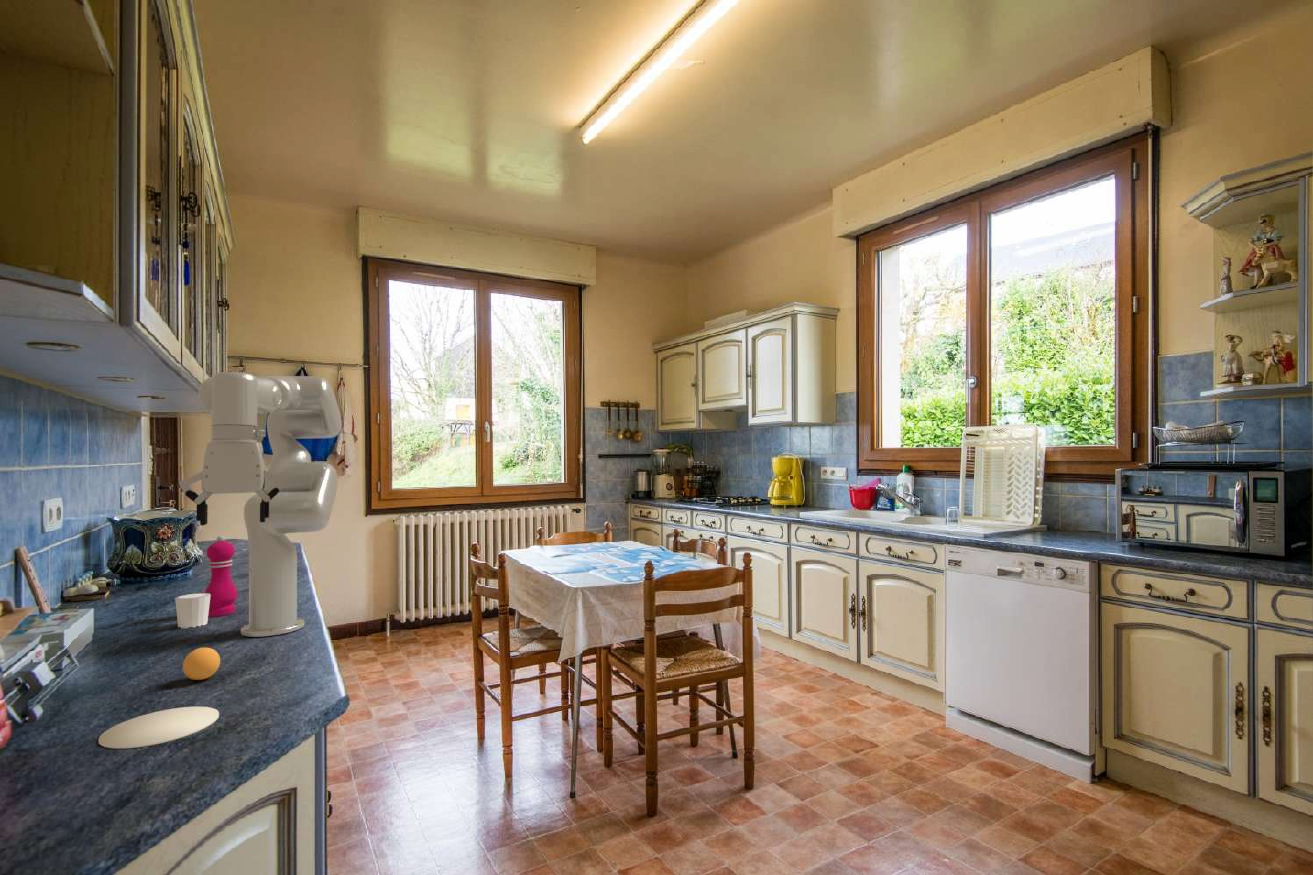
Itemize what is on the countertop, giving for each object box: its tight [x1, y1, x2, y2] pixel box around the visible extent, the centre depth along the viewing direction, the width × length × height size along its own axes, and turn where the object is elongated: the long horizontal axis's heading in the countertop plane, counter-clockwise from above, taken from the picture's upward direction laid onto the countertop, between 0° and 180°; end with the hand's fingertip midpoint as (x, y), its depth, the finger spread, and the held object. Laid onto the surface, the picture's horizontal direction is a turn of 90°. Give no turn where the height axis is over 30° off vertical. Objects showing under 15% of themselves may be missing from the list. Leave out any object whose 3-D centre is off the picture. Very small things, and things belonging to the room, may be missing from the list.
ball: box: [182, 647, 221, 681], centre depth 114 cm, size 6×6×6 cm
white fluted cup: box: [174, 592, 211, 629], centre depth 152 cm, size 7×7×7 cm
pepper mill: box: [204, 535, 239, 618], centre depth 163 cm, size 7×7×20 cm
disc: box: [98, 706, 220, 750], centre depth 94 cm, size 14×14×1 cm
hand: (233, 523), depth 124 cm, fingers open, 9 cm apart
